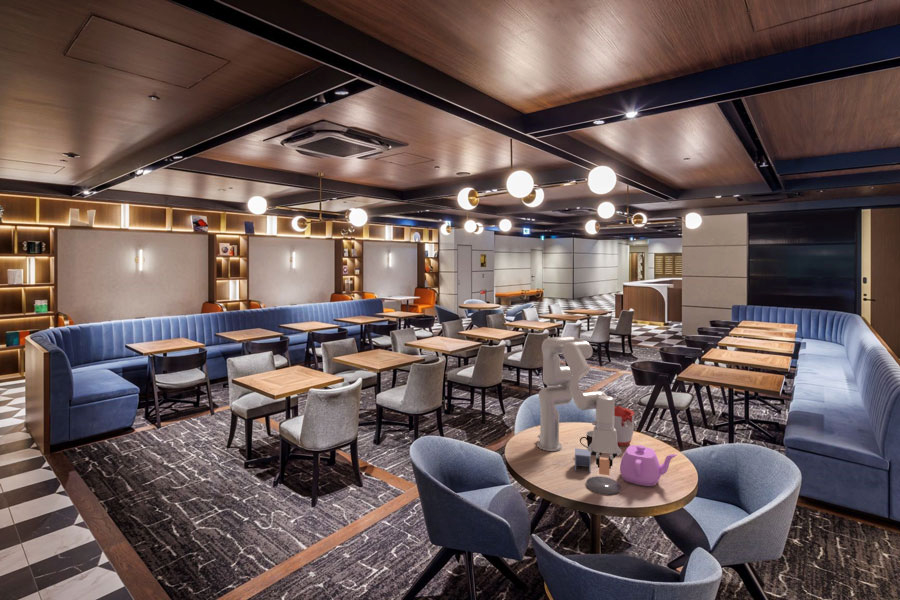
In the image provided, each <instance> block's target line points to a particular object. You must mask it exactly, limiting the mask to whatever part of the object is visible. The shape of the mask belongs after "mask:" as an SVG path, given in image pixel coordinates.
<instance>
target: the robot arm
mask: <svg viewBox="0 0 900 600" xmlns="http://www.w3.org/2000/svg"><path fill="white" fill-rule="evenodd" d="M541 343H542V344H541V353H542V358H543V360H542V361H543V363H542V382H543V384H544V385H546V386H549V387H544V388H542V389H540V390H539V391H538V399H539V408H540V413H539V414H540V420H539V421H540V422H539V423H540V424H539V425H540V427H539V428H540V429H539V431H540V432H539V433H540V434H538V435H537V439H539V441H538V442H537V443H536V445H537V447H539V448H538V449H540V450H542V449H543V451H545V450H546V452H557V451H560V450H562V448H563V445H562V443H560V413H559V411H558V409H557V408H556V406H562V405H568V404H570V403H571V402H572V400H573V403H574V404H575V406H576V407H577V408H578V409H579V410H581V411H589V410H595V420H594V421H592V422H591V425H593V429H592V431H593V436H592V443H591V444H590V445H589V447H588V446H587V447H588V448H587V450H588V451H590V452H591V453H592V454H593V455H594V457H595V465H596V466H597V468H598V469H599V459H600V457H601V456H599V453H601V454H609V457H608V458H609V460H610V468H609V470H611V469H612V467H613V460H614V459H615V458H616V457H617V456H620V455H622V450H621V449H620V446H619V445H617V433H616V429H615V428H614V407H616V406H615V402H616V401H615V398H614V397H612V396H610V395H607V394H606V393H605V392H604V391H601V390H593V391H584V392H583V391H582V389H581V387H580V383H579V382H580V380H581V379H582V378H584V377H586V376H587V375H588V374H589V372H590V370H591V368H590V366H589V364H588V362H587V359H589V358H591V357H592V356H593V347H592V345H591V344H590V343H589V342H588V341H587V340H585V339H582V338H580V337H576V336H572V335H571V336H568V335H567V336H554V337H548V338H545V339H544V340H543V342H541ZM559 355H563V357H564V360H565V362H566V364H567V365H561V358H560V356H559ZM593 455H592V456H593Z"/></svg>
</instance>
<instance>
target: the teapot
mask: <svg viewBox="0 0 900 600" xmlns="http://www.w3.org/2000/svg"><path fill="white" fill-rule="evenodd" d="M677 456H678V455H677V454H674V453H673V454H668V455H666V457H665V459H664V462H663V463H662V464H660V461H659V459H658V456H657V453H656V452H655V449H653V448H651V447H646V446H645V445H643V444H638V445H635V444H632V445H628V447H627V448H626V449H625V451H624V453H623V455H622V458H621V461H620V465H619V471H620V472H619V473H620V475H621V477H622V479H623V480H624V481H625V482H628V483H631V484H634V485H638V486H645V487H654V486H655V485H656V484H657V483H658V481H660V479H661V476H663V475H665V474H666V473H667V471H668V470H669V466H670V463H671V460H672V459H674V458H675V457H677Z"/></svg>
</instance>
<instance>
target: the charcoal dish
mask: <svg viewBox="0 0 900 600" xmlns="http://www.w3.org/2000/svg"><path fill="white" fill-rule="evenodd" d="M585 484H586V487H587V488H588V489H589V490H590V491H592V492H594V493H596V492H597V494H599V493H600V494H599V495H605V494H606V495H608V496H609V495H610V496H611V495H612V494H613V495H617V494H618V493H620V492H621V489H622V488H621V487H622V486H621V484H620V482H618V481H617V480H615V479H613V478H611V477H606V476H602V475H601V476H591V477H589V478H587V479H586V483H585ZM613 495H612V496H613Z"/></svg>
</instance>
